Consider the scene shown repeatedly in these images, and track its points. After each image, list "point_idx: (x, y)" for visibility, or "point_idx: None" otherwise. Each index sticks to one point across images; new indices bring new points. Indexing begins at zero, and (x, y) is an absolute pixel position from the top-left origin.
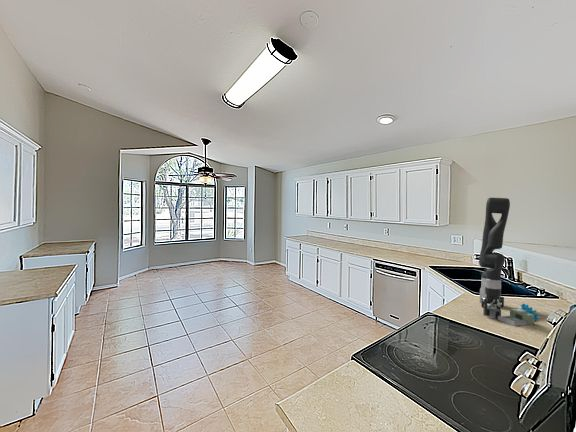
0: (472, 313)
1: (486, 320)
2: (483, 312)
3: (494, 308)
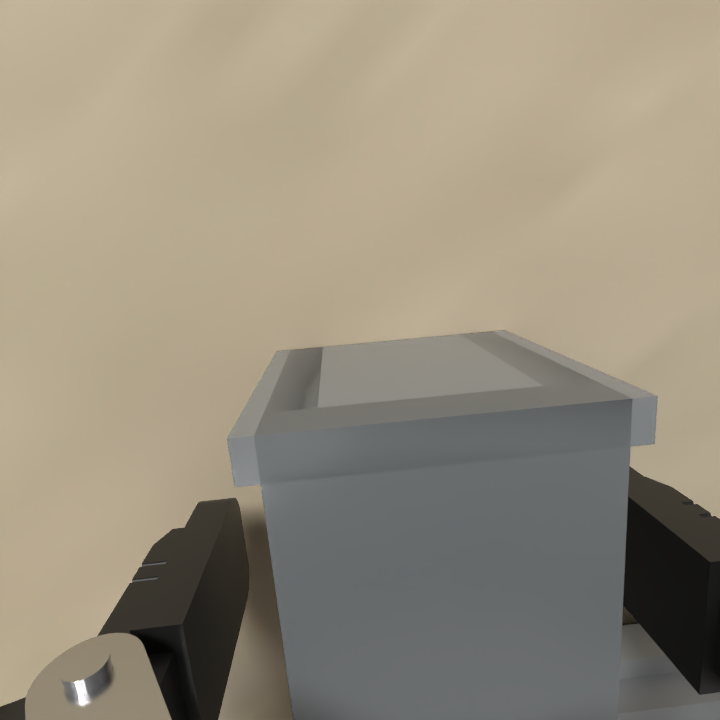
0: (36, 209)
1: None
2: (268, 372)
3: (502, 714)
